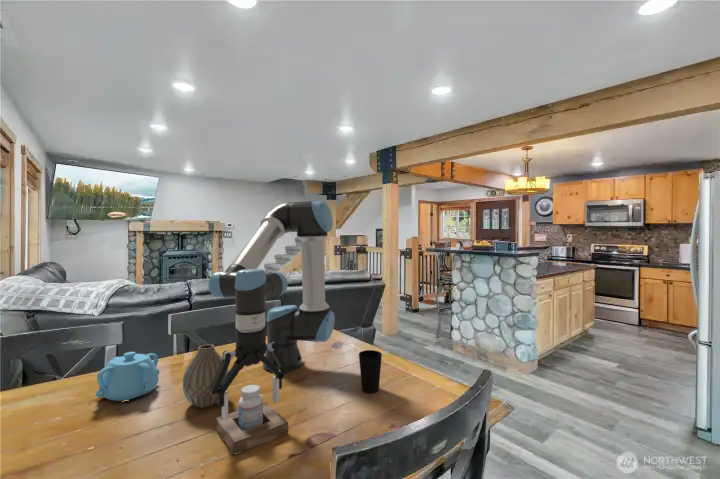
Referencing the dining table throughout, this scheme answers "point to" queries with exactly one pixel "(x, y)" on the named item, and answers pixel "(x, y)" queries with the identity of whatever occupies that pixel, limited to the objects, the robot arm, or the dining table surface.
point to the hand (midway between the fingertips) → (251, 409)
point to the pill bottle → (250, 408)
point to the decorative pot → (128, 377)
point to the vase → (202, 377)
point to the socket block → (251, 430)
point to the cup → (370, 370)
